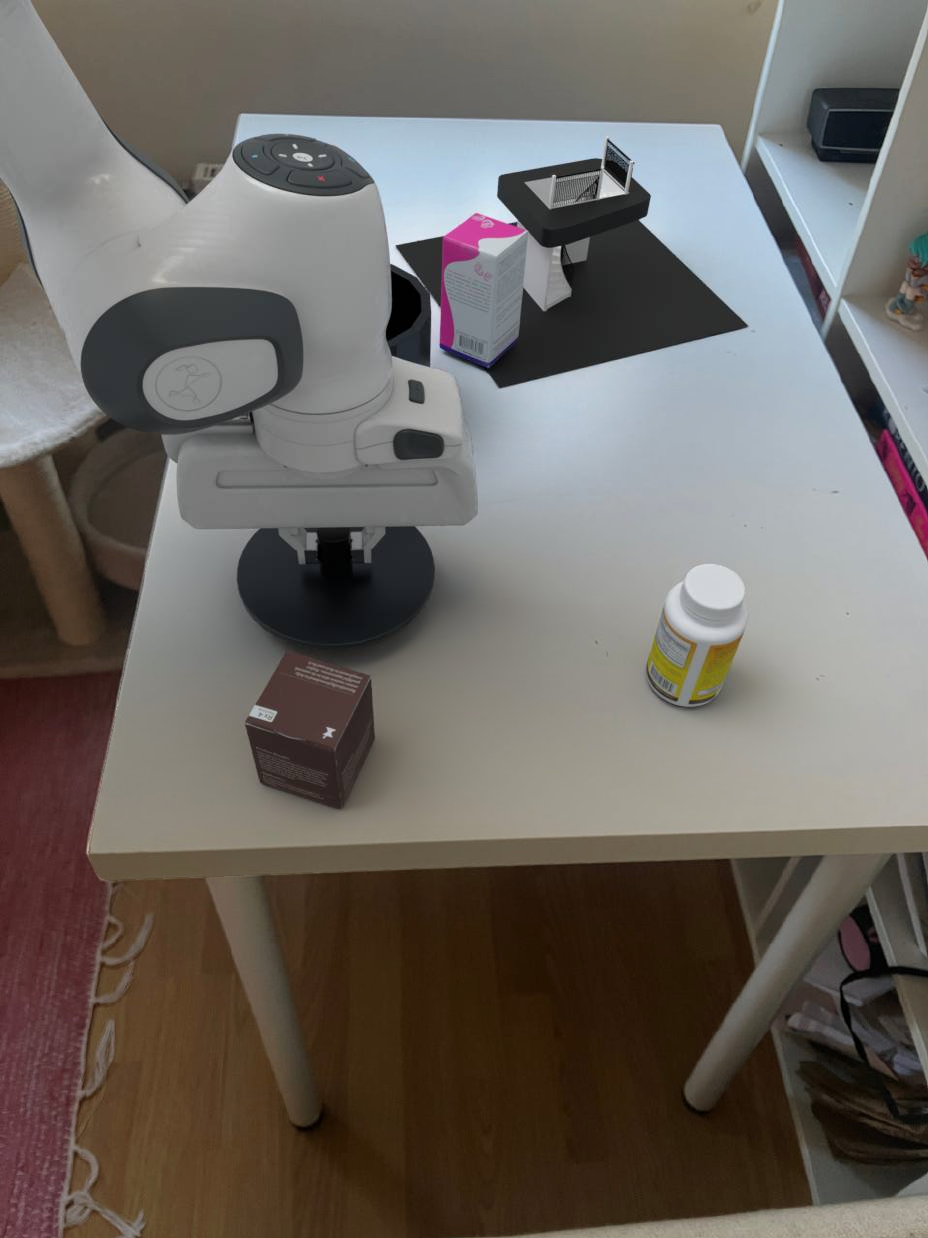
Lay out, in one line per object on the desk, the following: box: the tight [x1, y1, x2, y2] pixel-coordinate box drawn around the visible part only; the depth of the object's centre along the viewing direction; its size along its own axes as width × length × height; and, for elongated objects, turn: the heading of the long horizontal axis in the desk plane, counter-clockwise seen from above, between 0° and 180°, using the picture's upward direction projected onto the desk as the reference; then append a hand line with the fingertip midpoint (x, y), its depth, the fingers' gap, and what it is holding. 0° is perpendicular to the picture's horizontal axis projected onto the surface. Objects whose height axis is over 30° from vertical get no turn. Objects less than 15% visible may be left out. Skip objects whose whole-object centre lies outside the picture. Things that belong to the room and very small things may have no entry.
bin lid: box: [236, 526, 436, 651], centre depth 73 cm, size 15×15×5 cm
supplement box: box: [438, 212, 528, 368], centre depth 92 cm, size 6×6×12 cm
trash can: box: [386, 263, 432, 368], centre depth 86 cm, size 14×14×12 cm
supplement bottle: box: [645, 563, 749, 708], centre depth 69 cm, size 6×6×10 cm
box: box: [244, 650, 376, 810], centre depth 64 cm, size 6×6×7 cm
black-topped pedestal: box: [394, 135, 749, 388], centre depth 100 cm, size 28×26×13 cm
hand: (336, 557), depth 74 cm, fingers closed on bin lid, 2 cm apart
